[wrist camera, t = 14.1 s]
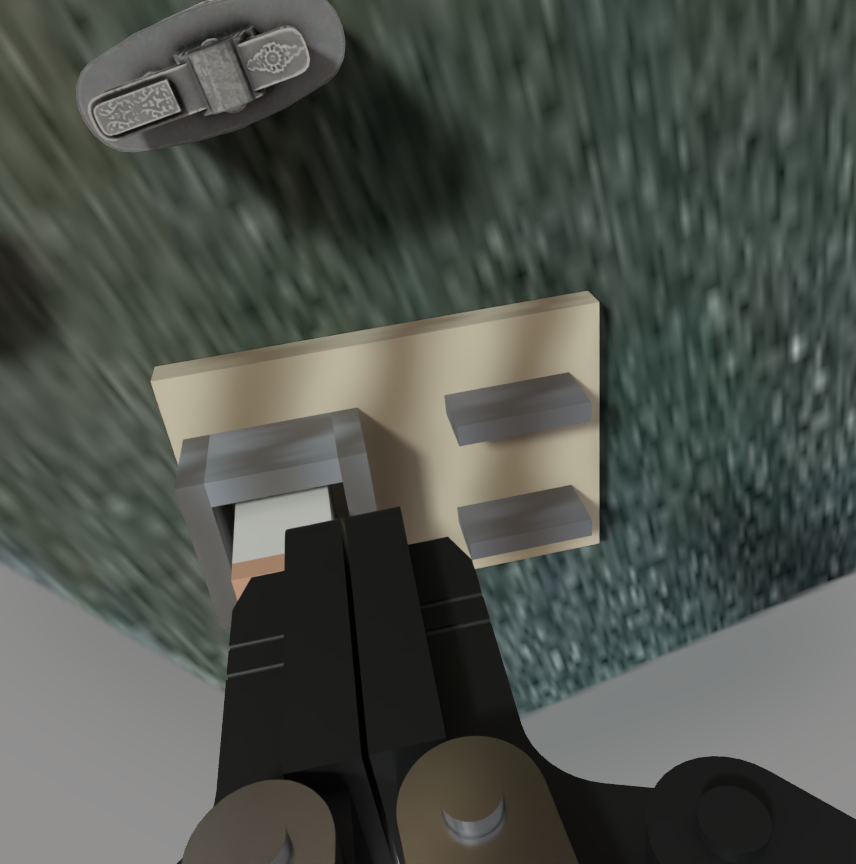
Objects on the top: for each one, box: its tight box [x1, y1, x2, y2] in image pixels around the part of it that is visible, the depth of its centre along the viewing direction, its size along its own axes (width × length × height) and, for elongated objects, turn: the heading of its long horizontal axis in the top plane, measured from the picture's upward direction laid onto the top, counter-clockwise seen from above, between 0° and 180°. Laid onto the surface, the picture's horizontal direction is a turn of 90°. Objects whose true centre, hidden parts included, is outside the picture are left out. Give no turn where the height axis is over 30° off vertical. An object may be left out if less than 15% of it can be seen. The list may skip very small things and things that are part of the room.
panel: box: [151, 291, 599, 630], centre depth 37 cm, size 20×14×6 cm
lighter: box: [76, 0, 345, 152], centre depth 25 cm, size 8×3×10 cm, turn 107°
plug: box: [231, 484, 338, 601], centre depth 34 cm, size 4×4×8 cm
